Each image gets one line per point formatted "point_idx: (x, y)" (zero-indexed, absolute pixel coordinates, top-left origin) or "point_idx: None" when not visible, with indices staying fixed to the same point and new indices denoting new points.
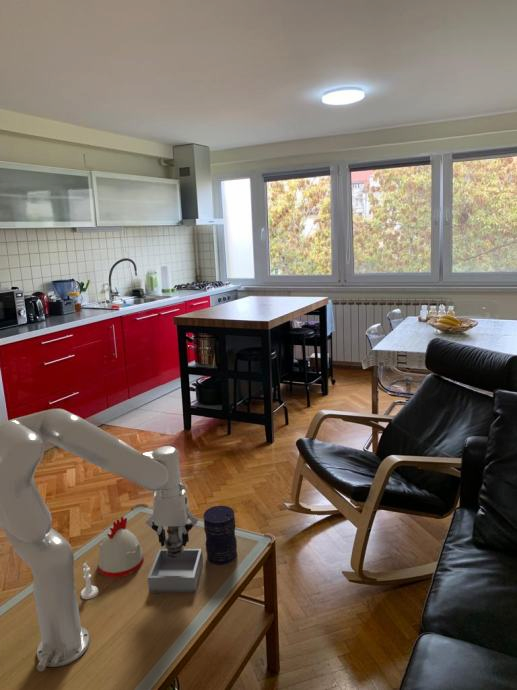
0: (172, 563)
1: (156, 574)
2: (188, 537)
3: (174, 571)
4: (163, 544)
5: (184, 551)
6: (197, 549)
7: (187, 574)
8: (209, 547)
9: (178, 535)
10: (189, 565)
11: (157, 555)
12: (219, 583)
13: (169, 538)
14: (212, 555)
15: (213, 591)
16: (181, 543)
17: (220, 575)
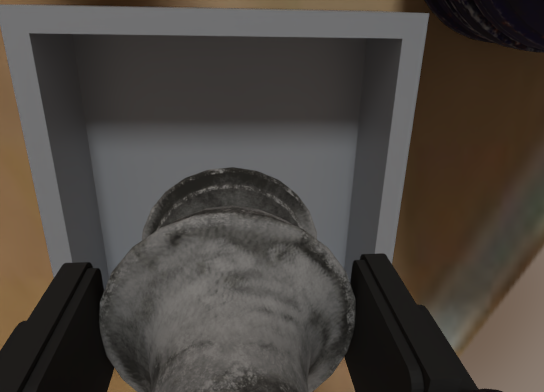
0: (162, 49)
1: (91, 194)
2: (432, 328)
3: (203, 141)
4: (108, 377)
5: (265, 35)
6: (388, 22)
7: (296, 168)
8: (505, 13)
9: (306, 385)
10: (296, 76)
11: (28, 111)
12: (477, 207)
13: None
14: (489, 37)
15: (443, 263)
16: (333, 362)
17: (488, 143)
